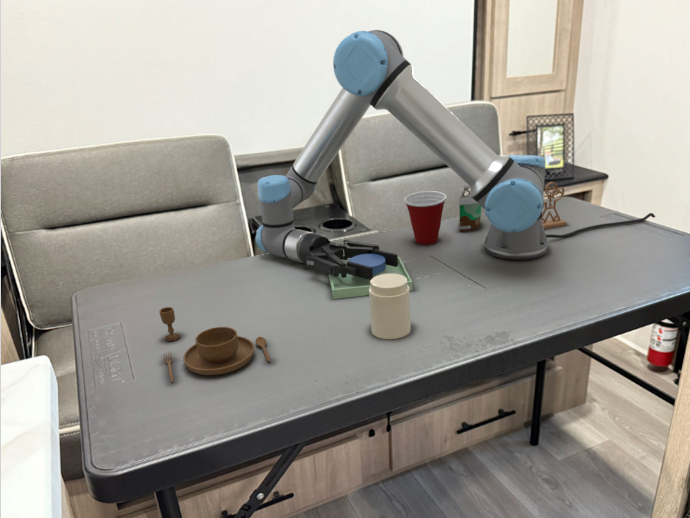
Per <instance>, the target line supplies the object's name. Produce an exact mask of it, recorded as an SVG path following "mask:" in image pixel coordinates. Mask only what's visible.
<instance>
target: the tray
mask: <svg viewBox="0 0 690 518" xmlns="http://www.w3.org/2000/svg"><path fill="white" fill-rule="evenodd" d="M344 262H345V261H344ZM347 262H348V261H347ZM347 262H345V263H346V265H347ZM381 274H400V275H403V276H404V277H406V278H407V282H408V283H407V285H408V286H409V288H410V292H411V291H413V288H414V286H413V280H412V278H411V276H410V274H409V272H408V270H407V268H406V267H405V264H404V263H403V261H402V258H401V257H400V256H398V266H397V267H394V266H390V265H386V268H385V270H384V271H382V272H380V273H378V274H374V275H373V278H374V277H375V276H378V275H381ZM328 278H329V279H328V280H329V284H330V288H331V293H332V300H337V299H348V298H355V297H365V296H369V288H370V286H371V284H370V280H368V279H364V278H360V277H357V276H353V275H349V274H347V277H346V278H342V277H341V274H339V276H337V277H334V276H331V275H329V274H328Z"/></svg>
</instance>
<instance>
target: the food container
mask: <svg viewBox="0 0 690 518" xmlns="http://www.w3.org/2000/svg"><path fill="white" fill-rule="evenodd" d="M458 201H459V202H458V206H459V233H467V232H474V231H476V230H478V229H480V227H481V215H482V208H483V207H482V206H480V205H479V204H478V203H477V202H476V201H475V200H474V199H473V198H472V197H471V191H470V186H469V185H463V191H462V192H461V196H459V199H458Z"/></svg>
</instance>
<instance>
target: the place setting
mask: <svg viewBox="0 0 690 518" xmlns="http://www.w3.org/2000/svg"><path fill="white" fill-rule="evenodd" d="M159 316H160V319H161V322H162V324H164V325H167V332H168V333H169V334H167V335H166V336H165V337H164V341H165V342H175V341H178V340H179V339H180V338H181V335H180V333H174V332H175V329H174V327H173V324H174V322H175V321H176V315H175V310H174V307H172V306H166V307H163V308H160V309H159ZM255 344H256V345H257V346H258V347H260V348H262V352H263V354H264V356H265V358H266V359H265V360H266V361H267V362H271V357H270V354H269V352H268V351H267V349H266V345H267V339H266V338H265V337H264V336H257V337H256V339H255ZM254 355H255V345H254V342H253V341H252V340H250V339H249V338H247V337H245V336H240V335H238V332H237V330H236V329H234V328H232V327H228V326H216V327H211V328H208V329H205V330H203V331H201V332H200V333H198V334H197V336H196V337H195V339H194V344H193V345H191V347H189V348H188V349H186V351H185V353H184V355H183V356H182V359H183V360H182V361H183V364H184V366H185V367H186V368H187V369H188V370H189V371H190V372H192V373H194V374H198V375H202V376H219V375H225V374H229V373H231V372H234V371H237V370H239V369H241V368H242V367H244V366H245V365H247V364H248V363H249V362H250V361H251V360H252V358H253V357H254ZM163 359H164V363H165V364H167V367H168V375H169V380H170V382H171V383H173V382H174V375H173V369H172V363H173V361H174V360H173V355H172V351H170V352H169V351H168V352H165V353H163Z"/></svg>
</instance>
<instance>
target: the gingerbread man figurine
mask: <svg viewBox="0 0 690 518" xmlns="http://www.w3.org/2000/svg"><path fill="white" fill-rule="evenodd" d="M551 184H553V185H555V186H553V185H552V186H550V185H551ZM551 190H552V191H551ZM565 191H566V190H565V188H564V187H561V186H560V187H559V186H558V184H557V183H556V182H554V181H550V182H548V183H547V184H546V185H545V186H544V192H545V195H543V199H545V198H547V200H548V201H549V203H548V201H546V200H545V201H544V202H543V204H544V206H543V209H544V210H542V223H543V227H544V230H547V229H553V228H559V227H565V226H567V221H565V220H564V219H561V217H560V214H559V213H558V211H557V208H556V205H557V202H559V201H560V200H561V199H562V198H563V197H564V195H565ZM559 194H560V196H559V197H558V198H556V199H555V196H558V195H559ZM552 202H553V204H552ZM548 210H549V211H548ZM550 210H553V211H554V213H555V215H554V216H553V214H552V212H551V211H550ZM547 211H548V212H547ZM546 212H547V214H546ZM545 214H546V217H545V218H544V216H545ZM549 217H550V219H549Z"/></svg>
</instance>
